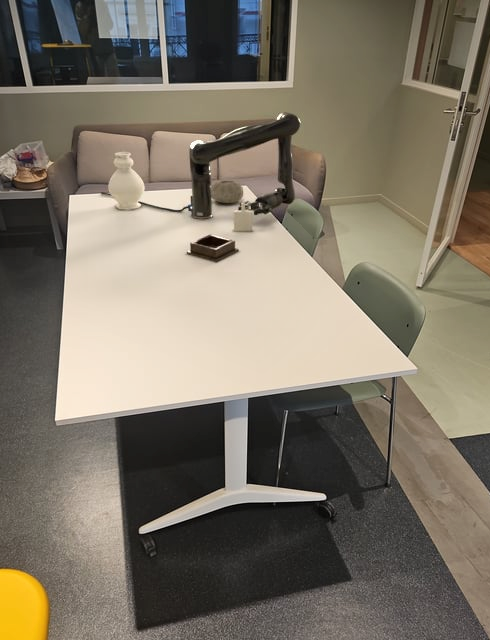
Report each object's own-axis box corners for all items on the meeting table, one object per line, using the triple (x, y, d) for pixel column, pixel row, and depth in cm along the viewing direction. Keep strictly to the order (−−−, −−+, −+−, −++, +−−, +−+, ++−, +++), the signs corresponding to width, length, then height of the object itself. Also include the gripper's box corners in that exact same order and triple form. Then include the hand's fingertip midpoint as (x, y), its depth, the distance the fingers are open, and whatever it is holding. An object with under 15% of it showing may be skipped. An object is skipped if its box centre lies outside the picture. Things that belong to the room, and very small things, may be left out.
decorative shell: (216, 207, 257) (215, 187, 251) (205, 198, 271) (204, 179, 265) (248, 204, 263) (248, 184, 257) (236, 195, 276) (236, 176, 270)
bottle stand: (186, 254, 203) (186, 243, 200) (209, 243, 213) (209, 233, 210) (216, 262, 196) (216, 251, 193) (238, 251, 206) (238, 240, 203)
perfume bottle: (233, 231, 226) (234, 204, 219) (233, 229, 228) (234, 202, 221) (251, 231, 226) (252, 204, 220) (251, 230, 228) (252, 203, 221)
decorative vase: (129, 199, 267) (123, 148, 253) (153, 205, 259) (148, 152, 245) (103, 207, 256) (95, 154, 241) (128, 213, 247) (121, 158, 233)
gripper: (253, 192, 237) (233, 199, 226) (279, 197, 230) (260, 205, 219) (253, 208, 241) (233, 216, 230) (278, 213, 234) (259, 222, 223)
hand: (246, 211), depth 225 cm, fingers open, 8 cm apart
